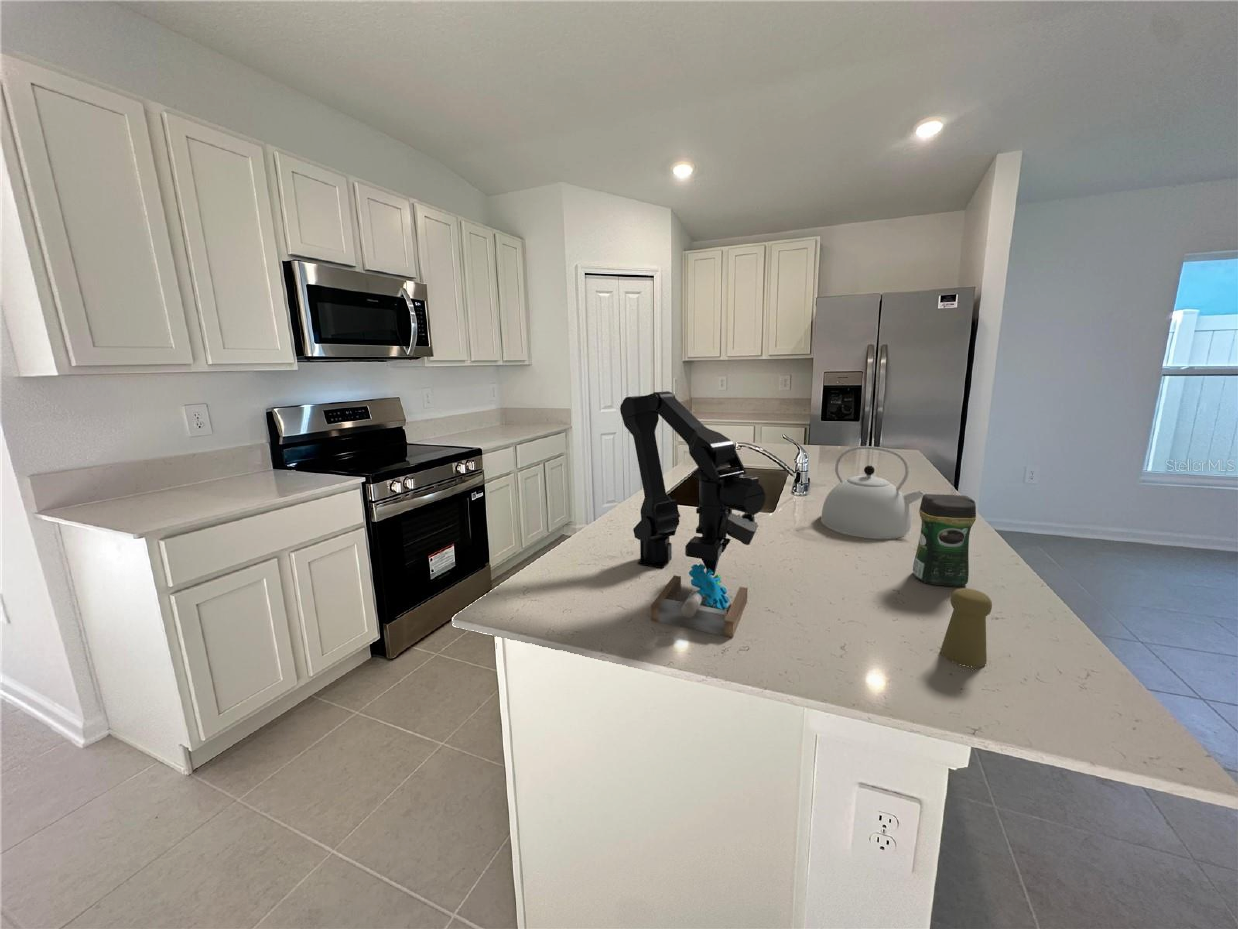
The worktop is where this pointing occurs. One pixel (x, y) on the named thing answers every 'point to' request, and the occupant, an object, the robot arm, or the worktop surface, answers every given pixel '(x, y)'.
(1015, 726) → the worktop surface
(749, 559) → the worktop surface
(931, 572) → the coffee jar
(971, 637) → the cork
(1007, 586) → the worktop surface
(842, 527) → the kettle
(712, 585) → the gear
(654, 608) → the cradle
